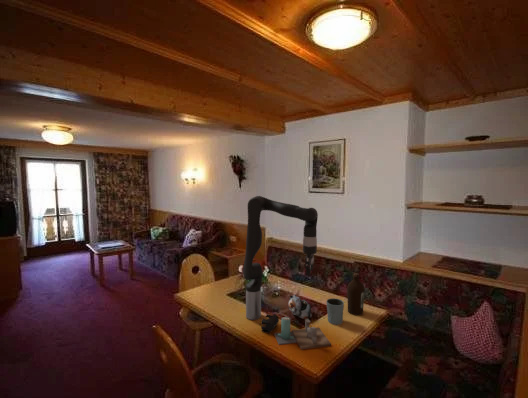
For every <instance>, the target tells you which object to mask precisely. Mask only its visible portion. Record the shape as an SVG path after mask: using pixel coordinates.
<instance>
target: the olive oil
mask: <svg viewBox="0 0 528 398" xmlns="http://www.w3.org/2000/svg"><path fill="white" fill-rule="evenodd" d="M365 289H366V288H365V286H364V284H363V283H362V282H361V281H360V274H359V273H356V272H354V273H353V277H352V280H351V281H349V283H348V284H347V288H346V291H347V292H346V294H347V313H348V314H350V315H353V316H361V315H363V313H364V305H365V304H364V303H365V292H366V291H365Z"/></svg>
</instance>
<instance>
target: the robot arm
mask: <svg viewBox="0 0 528 398" xmlns="http://www.w3.org/2000/svg"><path fill="white" fill-rule="evenodd" d="M262 211H269V212H275V213H276V214H279V215H282V216H284V217H288V218H294V219H298V220H301V221H304V226H303V239H302V252H303V254H306V255H305V258H304V259H305V261H304V262H305V263H304V268H305V273H306V274H305V275H306V276H307V277H310V276H311V272H312V271H313V270H314V262H315V256H314V255H315V254H317V252H318V250H317V249H318V239H317V232H318V231H317V227H318V226H317V224H318V217H319V216H318V215H319V213H318V211H317V209H316V208H314V207H308V208H307V207H302V206H299V205H295V204H291V203H285V202H280V201H277V200H272V199H269V198H268V197H264V196H261V195H256V196H253V197H251V198H250V199H249V200H248V202H247V227H246V228H247V229H246V237H245V238H246V241H245V255H244V262H243V267H242V274H243V278H244V280H246V281H249V282H248V283H247V284H246V285H245V317H246V319H248V320H250V321H255V320H259V319H260V318H261V317H262V286H263V285H262V284H263V282H262V281H263V268H262V265H261V263H258V262H254V263H253V261H254V259H255V257H256V256H257V253H258V251H260V248H261V246H262V241H263V232H262V227H261V223H260V221H261V213H262Z"/></svg>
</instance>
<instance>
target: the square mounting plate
mask: <svg viewBox="0 0 528 398" xmlns="http://www.w3.org/2000/svg"><path fill="white" fill-rule="evenodd" d="M310 323H311V320H310V318H309V319H305V320H304V328H302V329H301V328H300V329H299V328H298V329H292V330H291V331H292V333H293V335H294V336H295V338H296V340H297V343H296V344H298V346H299V349H300V350H308V349H315V348H325V347H332V342H330V340H329V339H328V338H327V337H326V335H325V334H324V332H323V330H321V328H320V327H319V326H318V327H315V326H310Z"/></svg>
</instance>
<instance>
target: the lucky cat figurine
mask: <svg viewBox="0 0 528 398" xmlns="http://www.w3.org/2000/svg"><path fill="white" fill-rule="evenodd" d="M288 310H289V311H290V312H291V313H292V315H293V316H294V315H295V316H297V317H298V318H301V319H302V320H304V321H305V319H309V320H310V319H311V318H312V316H313V315H312V312H311V311H312V306H311V304H309V303H308V301H306V300H305V299H301V297H299V296H297V295H296V294H293V295H289V301H288Z"/></svg>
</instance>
